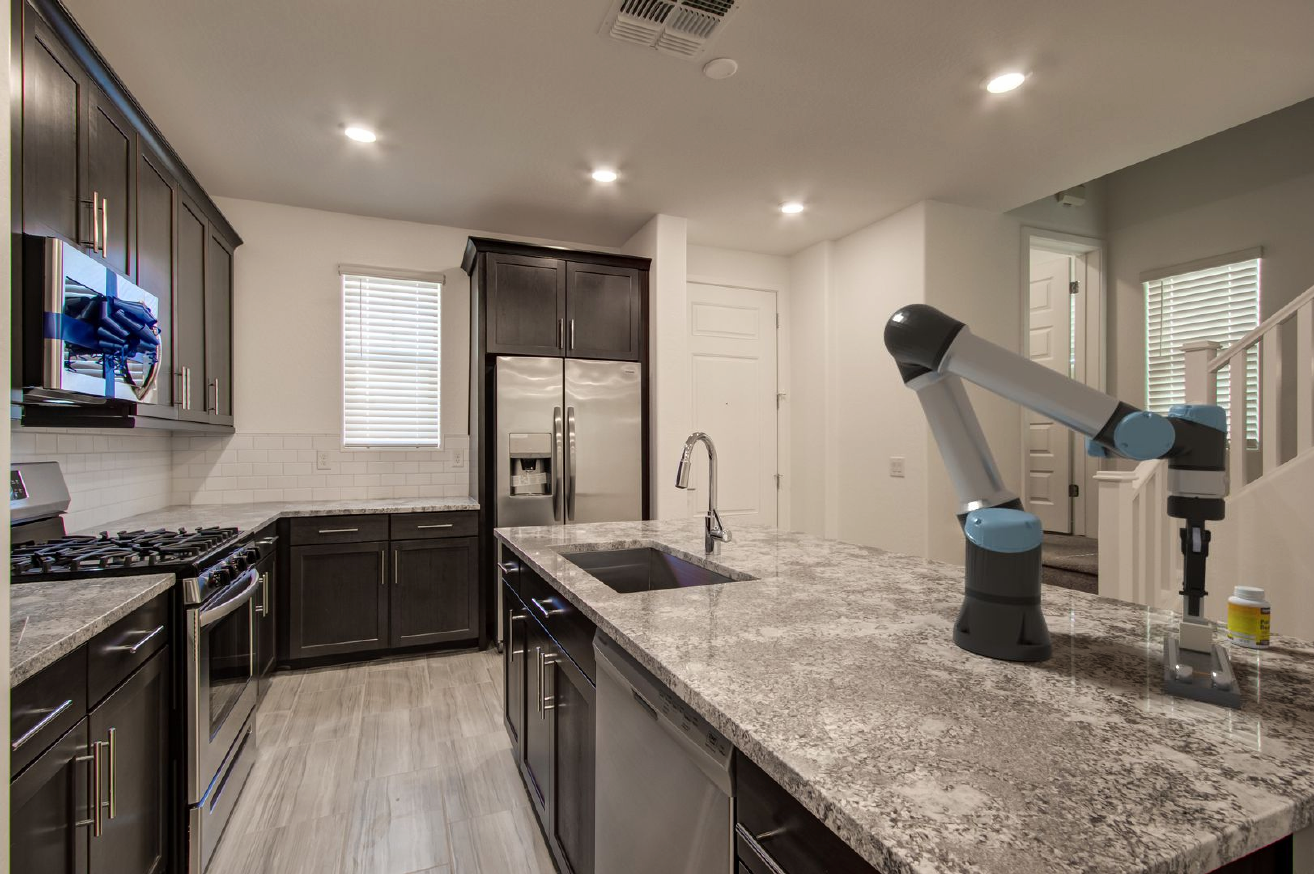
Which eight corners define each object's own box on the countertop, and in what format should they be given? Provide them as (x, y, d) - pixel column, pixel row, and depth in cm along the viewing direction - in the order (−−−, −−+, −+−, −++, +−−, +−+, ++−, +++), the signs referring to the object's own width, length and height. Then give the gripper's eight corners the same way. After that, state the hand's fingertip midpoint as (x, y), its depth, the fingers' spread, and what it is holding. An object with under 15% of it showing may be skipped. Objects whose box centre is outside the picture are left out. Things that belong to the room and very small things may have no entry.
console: (1164, 693, 89) (1165, 665, 89) (1163, 648, 109) (1163, 625, 109) (1241, 709, 84) (1241, 679, 84) (1224, 659, 104) (1225, 635, 104)
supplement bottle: (1264, 651, 109) (1265, 593, 109) (1222, 642, 113) (1223, 586, 113) (1273, 646, 112) (1274, 589, 112) (1232, 638, 116) (1233, 583, 117)
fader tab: (1179, 647, 103) (1179, 619, 103) (1178, 642, 105) (1179, 615, 105) (1211, 652, 100) (1212, 624, 100) (1210, 648, 103) (1211, 620, 103)
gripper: (1229, 499, 99) (1226, 648, 99) (1221, 495, 109) (1218, 629, 109) (1168, 495, 104) (1165, 637, 104) (1166, 491, 114) (1163, 621, 114)
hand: (1192, 633), depth 106 cm, fingers closed
